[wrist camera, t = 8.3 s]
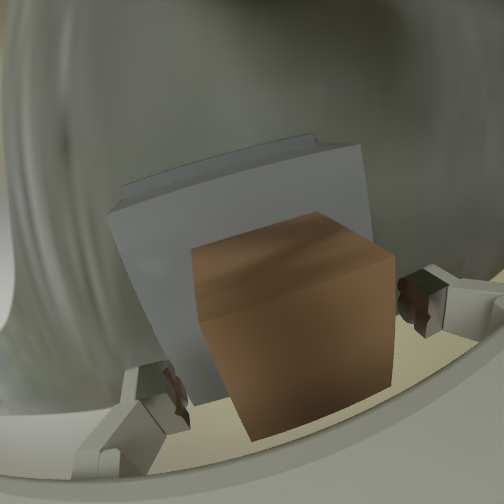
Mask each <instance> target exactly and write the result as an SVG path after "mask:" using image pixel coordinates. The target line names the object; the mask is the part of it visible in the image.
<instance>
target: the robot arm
mask: <svg viewBox="0 0 504 504" xmlns="http://www.w3.org/2000/svg"><path fill="white" fill-rule="evenodd" d="M398 290H399V291H400V293H401V294H400V296H399V298H398V310H399V313H400V315H401V317H402V318H403V319H404V320H405V321H406V322H407V323H410V324H414V329H415V330H416V331H417V332H418V333H419V334H421V335H422V336H423V337H424V338H425V339H426V338H428V337H430V336H431V335H433V334H435V333H437V332H439V331H440V330H442V329H443V331H446V332H449V333H452V334H456V335H459V336H462V337H465V338H468V339H471V340H474V341H477V342H479V343H478V344H477V345H475V346H474V347H473V348H471V349H470V350H468V351H467V352H465V353H464V354H462V355H461V356H460V357H459V358H457V359H455V360H454V361H452V362H451V363H449V364H448V365H446V366H445V367H443V368H441V369H440V370H438V371H437V372H435V373H433V374H432V375H430V376H429V377H427V378H425V379H424V380H422V381H420V382H419V383H417V384H415V385H414V386H412V387H410V388H408V389H406V390H404V391H403V392H401V393H399V394H397V395H396V396H393V397H392V398H390V399H388V400H386V401H384V402H382V403H380V404H378V405H376V406H374V407H372V408H370V409H368V410H366V411H364V412H362V413H360V414H357V415H355V416H353V417H351V418H348V419H346V420H344V421H342V422H339V423H337V424H334V425H332V426H330V427H327V428H325V429H323V430H320V431H317V432H315V433H312V434H310V435H307V436H304V437H301V438H299V439H296V440H293V441H290V442H287V443H285V444H281V445H278V446H275V447H272V448H269V449H266V450H263V451H259V452H256V453H252V454H249V455H245V456H242V457H238V458H234V459H230V460H226V461H222V462H218V463H214V464H209V465H204V466H199V467H195V468H190V469H184V470H178V471H172V472H166V473H160V474H152V475H147V473H148V471H149V469H150V467H151V465H152V463H153V461H154V460H155V458H156V456H157V454H158V452H159V450H160V448H161V446H162V444H163V442H164V440H165V439H166V435H169V434H174V433H178V432H182V431H186V430H190V419H189V413H188V412H187V410H186V407H187V405H188V398H187V394H186V390H185V387H184V385H183V383H182V381H181V379H180V378H179V377H177V376H175V368H174V366H173V364H172V363H171V361H170V360H163V361H159V362H155V363H151V364H146V365H142V366H138V367H134V368H130V369H127V370H126V371H125V374H124V380H123V386H122V392H121V399H120V404H116V405H115V406H114V407H113V408H112V409H111V411H110V412H109V413H108V414H107V415H106V416H105V418H104V419H103V420H102V421H101V422H100V423H99V425H98V426H97V427H96V428H95V429H94V430H93V432H92V433H91V434H90V435H89V436H88V437H87V439H86V440H85V441H84V442H83V443H82V444H81V445H80V447H79V448H78V449H77V450H76V452H75V458H74V463H73V469H72V475H71V480H57V479H35V478H23V477H14V476H6V475H0V504H504V283H497V282H489V281H480V280H472V279H464V278H462V279H461V280H460V279H458V278H456V277H454V276H453V275H451V274H449V273H448V272H446V271H444V270H443V269H441V268H439V267H437V266H436V265H434V264H429V265H427V266H425V267H423V268H421V269H420V270H418V271H416V272H414V273H411V274H409V275H407V276H405V277H403V278H400V279H399V281H398Z"/></svg>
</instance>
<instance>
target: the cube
mask: <svg viewBox="0 0 504 504" xmlns="http://www.w3.org/2000/svg"><path fill="white" fill-rule="evenodd" d="M191 259H192V269H193V279H194V288H195V297H196V306H197V314H198V322H199V325H200V328H201V330H202V333H203V335H204V338H205V340H206V342H207V345H208V347H209V350H210V352H211V354H212V357H213V359H214V361H215V364H216V366H217V368H218V371H219V373H220V375H221V378H222V380H223V382H224V384H225V387H226V389H227V391H228V393H229V395H230V397H231V399H232V402H233V404H234V406H235V408H236V410H237V412H238V415H239V417H240V419H241V421H242V423H243V425H244V427H245V429H246V431H247V433H248V435H249V437H250V439H251V442H253V441H257V440H260V439H263V438H267V437H270V436H273V435H276V434H279V433H282V432H285V431H287V430H290V429H293V428H296V427H299V426H302V425H304V424H307V423H310V422H312V421H315V420H317V419H320V418H323V417H325V416H327V415H330V414H332V413H335V412H337V411H339V410H342V409H344V408H346V407H349V406H351V405H353V404H355V403H357V402H360V401H362V400H364V399H366V398H368V397H370V396H372V395H374V394H376V393H378V392H380V391H382V390H384V389H386V388H388V387H390V386H391V380H392V368H393V355H394V339H395V308H396V278H395V255H393V254H391V253H390V252H388V251H386V250H385V249H383V248H381V247H380V246H378V245H376V244H375V243H373V242H371V241H369V240H368V239H366V238H364V237H362V236H361V235H359V234H357V233H355V232H354V231H352V230H350V229H348V228H347V227H345V226H343V225H341V224H339V223H338V222H336V221H334V220H332V219H330V218H329V217H327V216H325V215H323V214H321V213H319V212H318V211H316V212H313V213H309V214H306V215H302V216H299V217H296V218H292V219H289V220H285V221H282V222H279V223H275V224H272V225H268V226H265V227H262V228H258V229H255V230H252V231H248V232H245V233H242V234H238V235H235V236H232V237H229V238H225V239H222V240H219V241H215V242H212V243H209V244H206V245H202V246H199V247H196V248H193V249H191Z"/></svg>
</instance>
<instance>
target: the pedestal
mask: <svg viewBox="0 0 504 504" xmlns="http://www.w3.org/2000/svg"><path fill="white" fill-rule="evenodd" d="M120 189H121V192H122V195H123V198H122V199H121V200H120V201H119V202H118V203H117V204H116V205H115V206H114V207H113V208H112V209H111V210H110V211H109V212H108V213H107V214H106V215H105V216H106V219H107V222H108V225H109V227H110V230H111V233H112V235H113V238H114V241H115V243H116V246H117V248H118V251H119V254H120V256H121V259H122V261H123V264H124V266H125V268H126V271H127V273H128V276H129V278H130V280H131V283H132V285H133V287H134V290H135V292H136V294H137V296H138V299H139V301H140V303H141V305H142V307H143V310H144V312H145V314H146V316H147V318H148V320H149V322H150V324H151V326H152V329H153V331H154V333H155V335H156V337H157V339H158V341H159V343H160V345H161V347H162V349H163V351H164V352H165V354H166V356H167V358H168V360H170V361H171V363H172V364H173V366H174V368H175V373H176V375H177V377H179V378H180V379H181V381H182V383H183V385H184V387H185V390H186V393H187V395H188V396H189V398H190V400H191V402H192V403H193V405H194V406H197V405H201V404H205V403H209V402H212V401H216V400H220V399H223V398H226V397H230V395H229V393H228V391H227V389H226V387H225V384H224V382H223V380H222V378H221V375H220V373H219V371H218V368H217V366H216V364H215V361H214V359H213V357H212V354H211V352H210V350H209V347H208V345H207V342H206V340H205V338H204V335H203V333H202V330H201V328H200V325H199V322H198V314H197V306H196V297H195V288H194V279H193V269H192V259H191V249H193V248H196V247H199V246H202V245H206V244H209V243H212V242H215V241H219V240H222V239H225V238H229V237H232V236H235V235H238V234H242V233H245V232H248V231H252V230H255V229H258V228H262V227H265V226H268V225H272V224H275V223H279V222H282V221H285V220H289V219H292V218H296V217H299V216H302V215H306V214H309V213H313V212H316V211H318V212H319V213H321V214H323V215H325V216H327V217H329V218H330V219H332V220H334V221H336V222H338V223H339V224H341V225H343V226H345V227H347V228H348V229H350V230H352V231H354V232H355V233H357V234H359V235H361V236H362V237H364V238H366V239H368V240H369V241H371V242H373V233H372V223H371V214H370V205H369V197H368V190H367V182H366V176H365V169H364V163H363V157H362V151H361V145H360V144H354V143H334V142H316V141H315V137H314V134H306V135H301V136H296V137H291V138H287V139H282V140H278V141H273V142H269V143H265V144H261V145H256V146H252V147H248V148H244V149H240V150H237V151H233V152H229V153H225V154H222V155H218V156H214V157H211V158H207V159H204V160H200V161H197V162H194V163H190V164H187V165H184V166H180V167H177V168H174V169H171V170H168V171H165V172H162V173H158V174H155V175H152V176H149V177H146V178H144V179H141V180H138V181H135V182H132V183H129V184H126V185H124V186H122V187H120Z"/></svg>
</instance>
